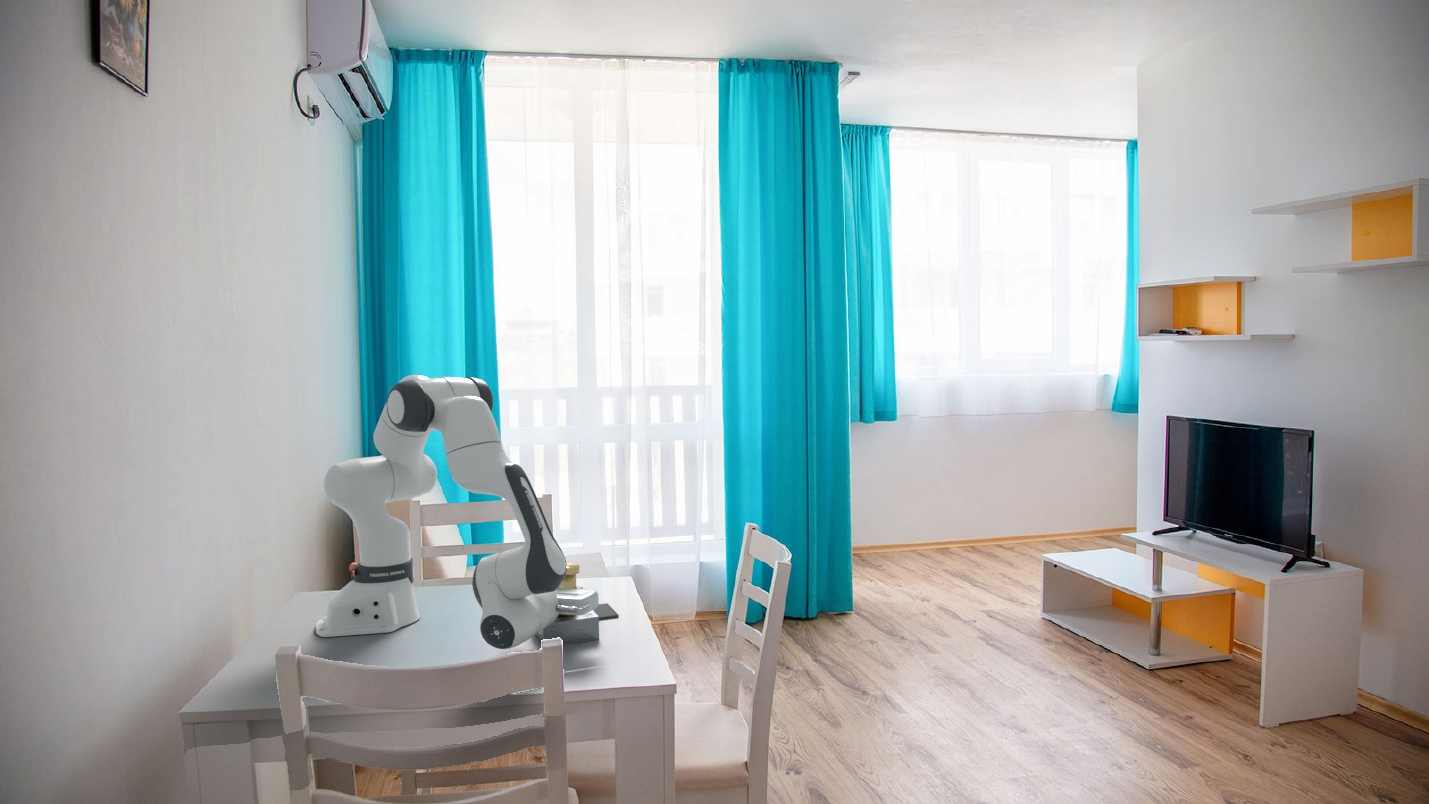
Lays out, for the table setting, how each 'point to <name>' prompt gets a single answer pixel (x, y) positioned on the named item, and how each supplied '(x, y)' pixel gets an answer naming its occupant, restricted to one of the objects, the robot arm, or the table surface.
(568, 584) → the brass flanged peg
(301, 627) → the table surface
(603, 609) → the mat
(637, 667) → the table surface
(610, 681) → the table surface
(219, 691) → the table surface
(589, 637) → the housing
